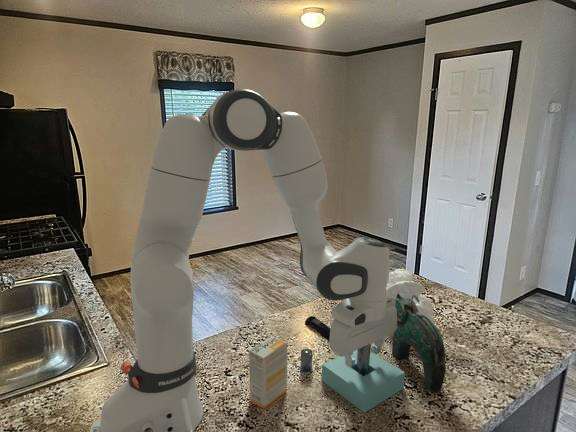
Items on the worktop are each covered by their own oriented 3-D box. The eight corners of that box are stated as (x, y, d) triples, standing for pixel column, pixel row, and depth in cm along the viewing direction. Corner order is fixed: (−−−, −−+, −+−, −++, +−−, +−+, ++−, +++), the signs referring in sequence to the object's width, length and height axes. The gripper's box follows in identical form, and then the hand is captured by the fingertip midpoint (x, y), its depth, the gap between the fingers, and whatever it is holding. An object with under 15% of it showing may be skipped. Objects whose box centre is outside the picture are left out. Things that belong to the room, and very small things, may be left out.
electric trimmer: (334, 347, 113) (335, 337, 112) (303, 324, 125) (304, 315, 125) (344, 343, 115) (345, 334, 114) (313, 321, 128) (313, 312, 127)
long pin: (362, 390, 94) (365, 345, 91) (352, 383, 96) (355, 339, 93) (370, 385, 95) (373, 341, 93) (361, 379, 98) (364, 336, 95)
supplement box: (272, 383, 96) (272, 334, 93) (287, 391, 93) (288, 342, 90) (248, 400, 89) (248, 349, 86) (263, 410, 86) (264, 357, 84)
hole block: (364, 412, 86) (365, 395, 85) (321, 380, 97) (322, 364, 96) (403, 388, 94) (404, 372, 93) (360, 361, 105) (361, 346, 104)
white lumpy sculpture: (458, 309, 117) (402, 272, 117) (417, 359, 120) (363, 323, 120) (440, 287, 135) (392, 256, 135) (405, 331, 139) (359, 300, 139)
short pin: (305, 373, 100) (305, 356, 98) (298, 368, 102) (298, 350, 101) (314, 369, 101) (314, 352, 100) (306, 364, 104) (307, 347, 103)
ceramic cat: (385, 350, 111) (390, 284, 106) (405, 348, 112) (411, 282, 108) (427, 396, 92) (435, 318, 88) (450, 392, 94) (459, 315, 89)
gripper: (385, 290, 100) (381, 339, 103) (326, 312, 88) (323, 366, 91) (405, 299, 95) (401, 350, 98) (346, 323, 83) (343, 380, 86)
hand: (363, 358), depth 94 cm, fingers open, 8 cm apart
